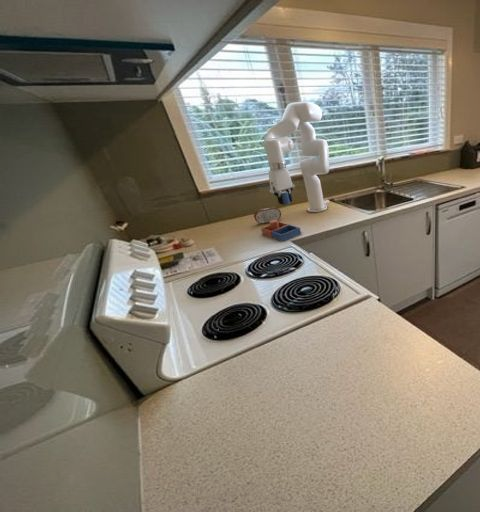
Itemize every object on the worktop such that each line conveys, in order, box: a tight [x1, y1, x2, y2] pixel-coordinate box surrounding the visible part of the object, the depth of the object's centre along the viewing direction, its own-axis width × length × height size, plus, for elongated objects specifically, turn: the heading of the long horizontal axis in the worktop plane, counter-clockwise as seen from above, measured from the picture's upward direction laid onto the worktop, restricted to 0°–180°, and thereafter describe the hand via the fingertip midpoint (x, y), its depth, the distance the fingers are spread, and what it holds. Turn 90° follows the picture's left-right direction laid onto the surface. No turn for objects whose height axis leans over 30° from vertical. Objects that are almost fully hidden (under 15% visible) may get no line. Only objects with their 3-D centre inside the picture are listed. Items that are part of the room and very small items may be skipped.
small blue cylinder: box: [281, 190, 291, 206], centre depth 151 cm, size 4×4×6 cm
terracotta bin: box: [260, 221, 290, 239], centre depth 158 cm, size 11×9×4 cm
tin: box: [253, 206, 282, 225], centre depth 173 cm, size 15×3×8 cm, turn 121°
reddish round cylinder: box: [268, 220, 280, 230], centre depth 157 cm, size 4×4×6 cm
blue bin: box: [271, 224, 302, 242], centre depth 152 cm, size 11×9×4 cm
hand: (285, 202), depth 152 cm, fingers closed on small blue cylinder, 4 cm apart
